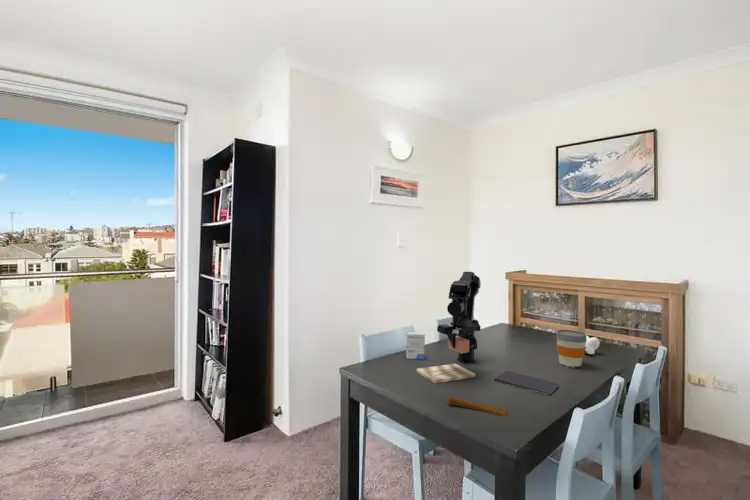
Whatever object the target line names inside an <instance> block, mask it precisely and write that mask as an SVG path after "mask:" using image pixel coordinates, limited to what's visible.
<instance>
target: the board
mask: <svg viewBox="0 0 750 500" xmlns="http://www.w3.org/2000/svg"><path fill="white" fill-rule="evenodd" d="M416 372H417V373H418V374H420V375H421V376H422V377H424V378H425V379H426V380H428V381H430V382H431V383H433V384H439V383H445V382H451V381H452V382H453V381H457V380H465V379H473V378H476V373H474V372H472V371H470V370H469V369H466V368H464V367H463V366H460V365H459V364H457V363H450V364H444V365H443V364H442V365H435V366H427V367H420V368H416Z"/></svg>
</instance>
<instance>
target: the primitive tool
mask: <svg viewBox="0 0 750 500" xmlns="http://www.w3.org/2000/svg"><path fill="white" fill-rule="evenodd" d="M447 405H448V406H455V407H456V406H457V407H461V408H466V409H470V410H475V411H479V412H483V411H484V412H483V413H487V412H490V413H489V414H491V413H495V414H494V415H496V414H498V415H497V416H500V415H506V412H503V411H505V410H504V409H505V408H503V407H500V406H499V407H498V406H494V405H489V404H484V403H481V402H480V403H479V402H474V401H469V400H465V399H461V398H457V397H455V396H453V395H449V397H448V399H447Z"/></svg>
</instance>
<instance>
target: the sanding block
mask: <svg viewBox="0 0 750 500" xmlns="http://www.w3.org/2000/svg"><path fill="white" fill-rule="evenodd" d="M447 339H448V343H447V345H448V347H447V348H448V349H449V350H452V351H454V352H456V353H458V354H459V353H466V352H469V340H467V339H465V338H462V337H459V336H456V337H455V349H454V348H452V345H451V343H450V340H449V338H448V337H447Z"/></svg>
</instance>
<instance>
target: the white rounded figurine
mask: <svg viewBox="0 0 750 500" xmlns="http://www.w3.org/2000/svg"><path fill="white" fill-rule="evenodd" d="M586 340H587V341H586V343H585V347H586V349H585V351H586V352H585V353H586V354H587V353H588V354H594V353H595V352H596V350H597V349H598V348H599V347H600V345H601V343H600V339H598V338H597V337H590V336H589V335H587V334H586ZM594 350H595V351H594ZM594 355H595V354H594Z"/></svg>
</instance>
